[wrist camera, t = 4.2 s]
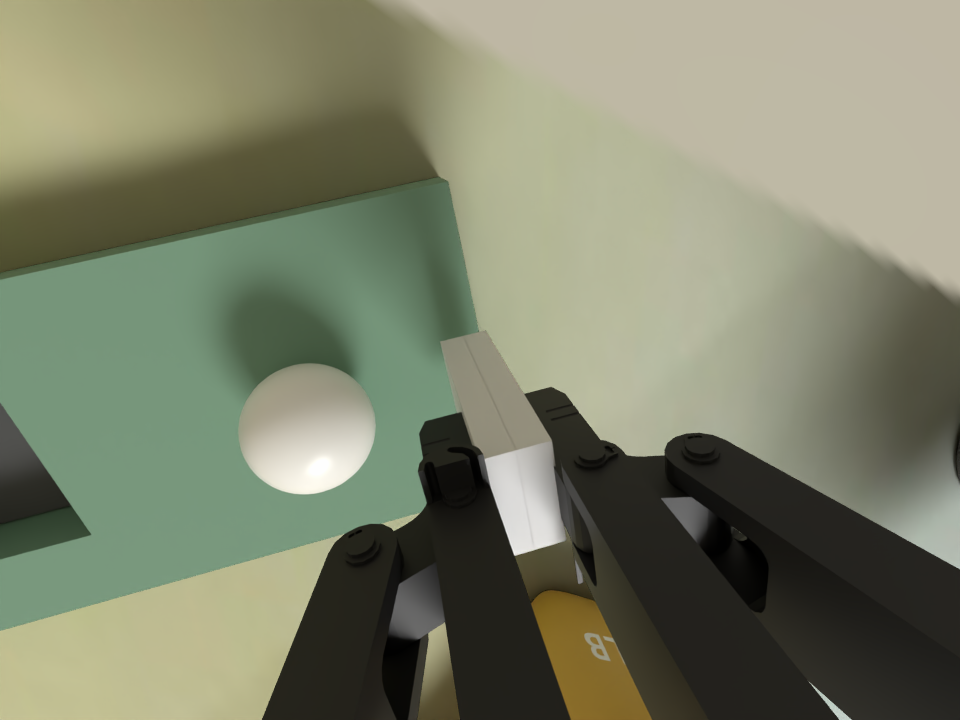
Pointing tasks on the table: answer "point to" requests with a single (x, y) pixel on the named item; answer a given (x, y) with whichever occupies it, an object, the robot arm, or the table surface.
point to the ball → (306, 428)
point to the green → (212, 390)
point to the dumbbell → (586, 659)
